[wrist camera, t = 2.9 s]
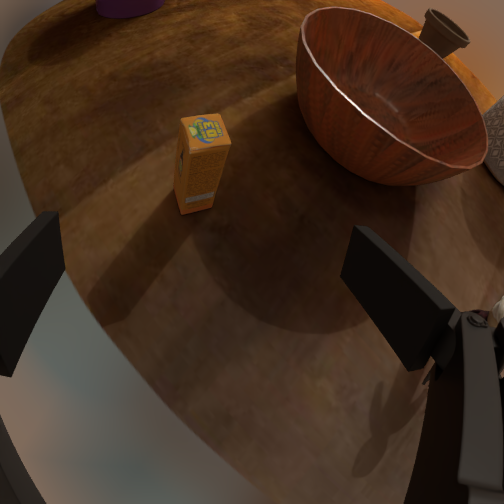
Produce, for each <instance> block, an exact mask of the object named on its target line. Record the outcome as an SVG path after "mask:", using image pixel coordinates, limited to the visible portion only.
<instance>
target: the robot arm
mask: <svg viewBox="0 0 504 504" xmlns="http://www.w3.org/2000/svg"><path fill="white" fill-rule="evenodd" d="M64 271H65V263H64V256H63V249H62V241H61V233H60V224H59V214H58V212H42V213H41V214H40V215H39V216H38V217H37V218H36V219H35V220H34V221H33V222H32V223H31V224H30V225H29V226H28V227H27V228H26V229H25V230H24V231H23V232H22V233H21V234H20V235H19V236H18V237H17V238H16V239H15V240H14V241H13V242H12V243H11V244H10V245H9V247H7V249H6V250H5V251H4V252H3V253H2V254H1V255H0V375H2V376H7V377H12V374H13V372H14V370H15V368H16V365H17V363H18V361H19V358H20V356H21V354H22V352H23V349H24V347H25V345H26V343H27V341H28V338H29V337H30V334H31V332H32V330H33V328H34V326H35V324H36V322H37V320H38V318H39V316H40V314H41V312H42V310H43V309H44V307H45V305H46V303H47V301H48V299H49V297H50V295H51V294H52V291H53V289H54V288H55V286H56V285H57V283H58V281H59V279H60V277H61V276H62V274H63V272H64ZM340 277H341V278H342V280H343V281H344V282H345V284H346V285H347V286H348V288H349V289H350V290H351V292H352V293H353V294H354V296H355V297H356V299H357V300H358V301H359V303H360V304H361V305H362V307H363V308H364V309H365V311H366V312H367V314H368V315H369V316H370V318H371V319H372V320H373V322H374V323H375V325H376V326H377V327H378V329H379V330H380V332H381V333H382V334H383V336H384V337H385V339H386V340H387V342H388V343H389V344H390V346H391V347H392V349H393V350H394V352H395V353H396V354H397V356H398V357H399V359H400V360H401V362H402V363H403V365H404V366H405V368H406V369H407V371H408V372H409V371H414V370H418V369H422V368H424V366H425V365H426V363H427V361H428V359H429V358H430V356H431V357H432V358H433V359H434V360H435V363H434V365H433V366H432V368H431V370H430V371H429V373H428V374H427V376H426V378H425V379H424V381H423V383H422V384H423V385H425V383H426V382H427V381H428V380H430V382H429V385H428V386H429V389H428V397H427V403H426V410H425V416H424V421H423V427H422V432H421V437H420V442H419V447H418V451H417V456H416V460H415V464H414V468H413V472H412V476H411V480H410V483H409V487H408V490H407V494H406V497H405V500H404V504H504V377H503V378H502V377H501V375H500V373H501V372H502V370H503V369H504V317H503V318H501V319H500V321H499V323H498V325H497V327H490V326H489V324H488V323H487V321H486V320H485V319H484V318H482V317H481V316H480V315H478V314H476V313H473V312H469V311H467V312H463V313H461V312H460V311H459V310H458V309H457V308H456V307H455V306H454V305H453V304H452V303H451V302H450V301H449V300H448V299H447V298H446V297H445V296H444V295H443V294H442V293H441V292H440V291H439V290H437V288H436V287H435V286H434V285H432V284H431V283H430V282H429V281H428V280H427V279H426V278H425V277H424V276H423V275H422V274H421V273H420V272H418V271H417V270H416V269H415V268H414V267H413V266H412V265H411V264H410V263H409V262H408V261H407V260H405V259H404V258H403V257H402V256H401V255H400V254H399V253H398V252H397V251H395V250H394V249H393V248H392V247H391V246H390V245H389V244H387V243H386V242H385V241H384V240H383V239H382V238H381V237H379V236H378V235H377V234H376V233H375V232H374V231H372V230H371V229H370V228H369V227H368V226H358V225H354V227H353V231H352V235H351V239H350V243H349V246H348V250H347V254H346V257H345V261H344V264H343V268H342V271H341V275H340ZM0 504H46V502H45V501H44V499H43V498H42V496H41V494H40V493H39V491H38V489H37V488H36V486H35V484H34V483H33V481H32V479H31V477H30V476H29V474H28V472H27V470H26V469H25V466H24V465H23V463H22V461H21V459H20V457H19V455H18V453H17V451H16V449H15V447H14V445H13V443H12V441H11V439H10V436H9V434H8V432H7V430H6V427H5V425H4V423H3V420H2V418H1V416H0Z"/></svg>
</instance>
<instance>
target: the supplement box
mask: <svg viewBox="0 0 504 504" xmlns="http://www.w3.org/2000/svg"><path fill="white" fill-rule="evenodd" d="M230 146H231V141H230V138H229V136H228V133H227V131H226V128H225V126H224V123H223V121H222V118H221V115H220V114H207V115H199V116H192V117H186V118H181V121H180V128H179V135H178V144H177V153H176V162H175V173H174V191H175V195H176V199H177V203H178V206H179V209H180V213H181V214H182V215H184V214H188V213H192V212H196V211H200V210H204V209H208V208H211V207H212V205H213V202H214V198H215V195H216V191H217V188H218V185H219V181H220V178H221V175H222V172H223V168H224V165H225V161H226V158H227V155H228V152H229V149H230Z"/></svg>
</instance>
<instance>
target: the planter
mask: <svg viewBox="0 0 504 504" xmlns="http://www.w3.org/2000/svg"><path fill="white" fill-rule="evenodd" d="M482 116H483V119H484V122H485V126H486V130H487V134H488V152H487V155H486V157H485V159H484V163H485V164H486V166H487V167H488V169H489V171H490V172H491V173H492V175H493V176H494V177H495V178H496V179H497V180H498V182H499V183H501V184H502V185H503V186H504V96H503V97H502V98H501V99H499V100H498V101H497V102H496V103H495V104H494V105H493V106H492V107H491V108H490V109H488V110H487V111H486V112H485V113H484V114H483V115H482Z"/></svg>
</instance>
